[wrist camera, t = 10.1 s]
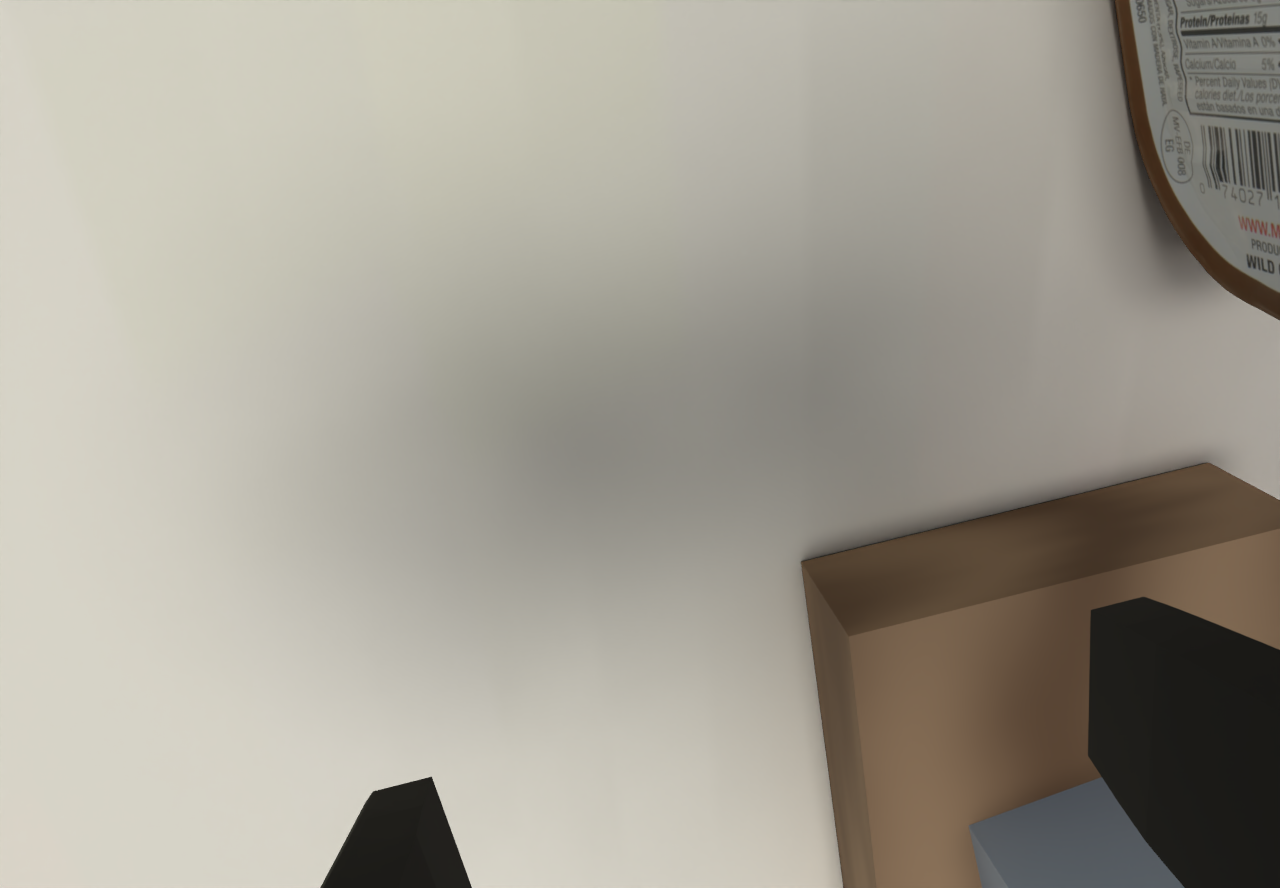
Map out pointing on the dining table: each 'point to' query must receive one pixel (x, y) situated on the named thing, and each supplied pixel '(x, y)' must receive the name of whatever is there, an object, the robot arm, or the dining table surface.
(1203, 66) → the tin
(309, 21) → the dining table surface
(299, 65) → the dining table surface
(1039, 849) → the block
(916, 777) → the plinth
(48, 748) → the dining table surface
